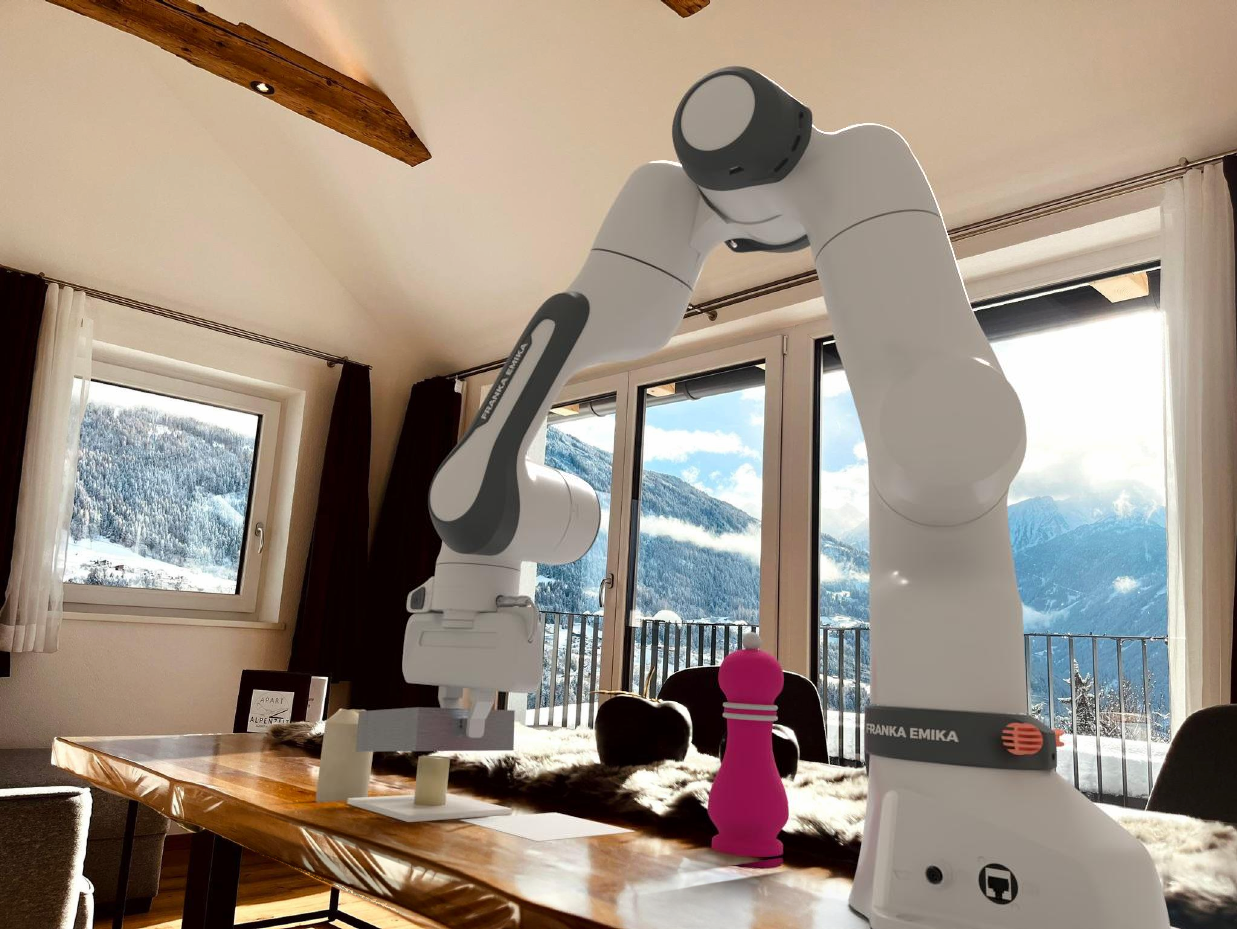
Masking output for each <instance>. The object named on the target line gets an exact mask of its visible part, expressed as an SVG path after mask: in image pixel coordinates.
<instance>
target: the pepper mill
mask: <svg viewBox="0 0 1237 929" xmlns="http://www.w3.org/2000/svg"><path fill="white" fill-rule="evenodd" d="M741 643H742V647H743V648H744V649H738V650H735V651H732V652H730V653H729V654H728V655H726V656H725V657H724V658H723V660H722V662H721V664H720V665H719V670H718V676H717V678H718V684H719V688H720V689H721V691H722V692H723V693H724V695H725V697H726V700H727V701H725V702H723V703H722V707H724V709H723V713H722V717H723V718H725V719H726V727H727V730H726V731H727V738H726V748H725V751H724V755H723V759H722V762H721V764H720V765H719V766H720V767H719V769H718V771H717V773H716V775H715V777H714V780H713V782H712V784H711V788H710V791H709V794H708V799H707V800H708V801H707V808H706V809H707V814H708V816H709V818H710V820H711V821H712V823H713V825H714V826H715V828H716V829H717V831H718V834H716V835H714V836H713V837H712V838H711V848H712V849H713V850H715V851H717V852H720V853H724V854H729V855H733V856H734V855H735V856H741V857H752V858H753V857H754V858H757V857H758V858H770V857H771V859H766V860H765V859H764V860H758V861H750V862H745V863H744V862H743V863H738V864H737V863H736V864H732V865H729V866H731V867H737V868H745V869H757V870H758V869H759V870H760V869H774V868H778V867H781V866H782V865H783V863H784V858H783V857H779V856H782V855H783V854H784V850H783V849H784V844H783V843H782V841H781V840H779V839H778V838H777V837H778V835H779V833H780V832H781V831H782V830H783V828H784V827H785V826H786V824H787V823H788V821H789V817H790V808H789V800H788V795H787V791H786V788H785V785H784V782H783V781H782V778H781V776H780V773H779V770H778V767H777V765H776V764H777V763H776V761H775V756H774V752H773V738H772V737H773V735H772V734H773V727H774V722H776V721H778V719H779V718H778V716H777V714H778V712H777V710H778V709H779V707H778V706H777V705H775V700H776V698H777V697H778V696H779V695H780V694H781V693H782V691H783V689H784V683H785V682H784V681H785V678H784V677H785V676H784V672H783V667H782V665H781V663H780V662H779V660H778V659H777V658H776V657H774V655H772V654H771V653H769V652H766V651H764V650H761V649H760V648H761V645H762V638H761V636H760V635H759V634H758V633H756V632H754V631H749V632H746V633H745V634H744V635H743V637H742V640H741ZM772 857H778V858H772Z"/></svg>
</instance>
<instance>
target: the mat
mask: <svg viewBox="0 0 1237 929" xmlns="http://www.w3.org/2000/svg"><path fill="white" fill-rule="evenodd" d="M459 821H461V822H464V823H467V824H472V825H475V826H479V827H483V828H486V829H490V830H494V831H497V832H500V833H505V834H508V835H511V836H516V837H519V838H523V839H526V840H529V841H533V842H535V843H536V842H537V843H538V842H540V843H541V842H550V841H558V840H568V839H578V838H590V837H599V836H607V835H617V834H627V833H628V834H629V833H636V832H637V831H636V830H632V829H627V828H623V827H619V826H614V825H610V824H606V823H602V822H598V821H594V820H590V819H585V818H580V817H575V816H571V815H568V814H565V813H564V814H562V813H560V812H559V813H558V812H545V813H532V814H531V813H529V814H518V815H502V816H489V817H475V818H468V819H467V818H462V819H459Z"/></svg>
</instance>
